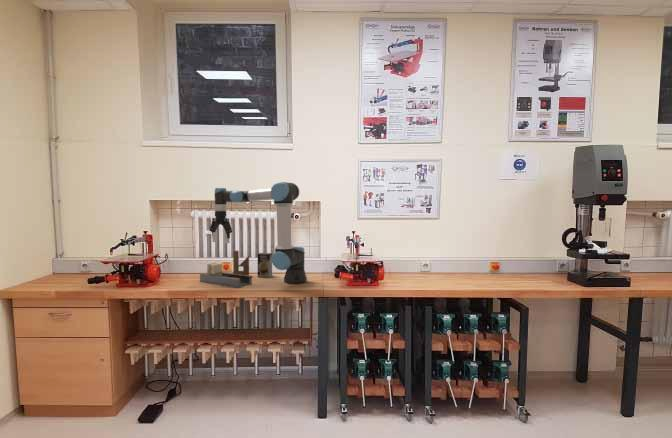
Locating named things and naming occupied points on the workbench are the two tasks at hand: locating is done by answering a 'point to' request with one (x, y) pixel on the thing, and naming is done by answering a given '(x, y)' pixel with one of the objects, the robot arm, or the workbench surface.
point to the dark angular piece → (236, 264)
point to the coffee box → (264, 265)
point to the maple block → (214, 269)
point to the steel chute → (227, 279)
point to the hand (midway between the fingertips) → (220, 242)
